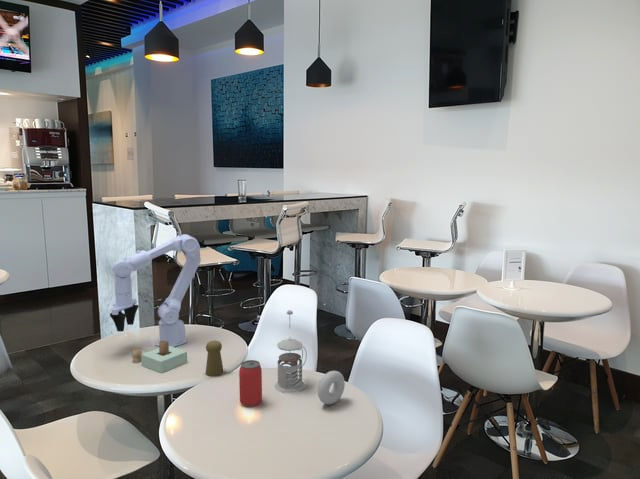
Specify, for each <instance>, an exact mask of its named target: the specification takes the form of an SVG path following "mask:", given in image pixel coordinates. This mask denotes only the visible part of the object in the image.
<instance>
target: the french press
mask: <svg viewBox="0 0 640 479" xmlns="http://www.w3.org/2000/svg"><path fill="white" fill-rule="evenodd" d="M293 314H294V312H293V310H292V309H289V310H287V312H286V315H289V318H288V319H289V320H288V321H289V328H291V315H293ZM276 346H277V348H278V349H279V350H281V351H286V352H284V353H281V354H280V355H279V356H278V360H277V382H276V383H275V384H274V388H275V390H276V391H278V392H281V393H286V394H293V393H298V392H301V391H303V390H304V389H305V388H306V384H305V382H304V381H303V367H304V365H305V364H306V361H307V358H308V356H307V355H308V354H307V349H306V347H305V346H303V343H302V342H301V341H299V340H297V339H295V338H288V339H287V338H285V339H283V340H281V341H279V342H278V343H277V344H276ZM287 351H288V352H287ZM292 351H293V352H292ZM294 351H301V355H302V356H301V355H300V353H296V352H294ZM304 351H305V360H304V362H303V356H304ZM298 362H299V363H298Z"/></svg>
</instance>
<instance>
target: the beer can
mask: <svg viewBox="0 0 640 479" xmlns="http://www.w3.org/2000/svg"><path fill="white" fill-rule="evenodd" d="M239 367H240V368H239V370H238V372H239V375H238V376H239V377H238V378H239V379H238V382H239V403H240V404H241V405H242V406H245V407H248V408H249V407H250V408H252V407H257V406H258V405H260V404H261V403H262V402H263V384H262V383H263V376H262V375H263V374H262V373H263V370H262V367H261V363H260V361H258V360H255V359H254V360H253V359H249V360H248V359H247V360H244V361H243V362H241V363H240V366H239Z"/></svg>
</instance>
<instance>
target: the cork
mask: <svg viewBox="0 0 640 479" xmlns="http://www.w3.org/2000/svg"><path fill="white" fill-rule="evenodd" d="M222 345H223V344H222V342H221V341H219V340H210V341H207V343H206V344H205V350H206V352H207V357H206V365H205V376H207V377H211V378H212V377H215V378H216V377H220V376H222V375H223V374H224V367H223V359H222V353H221V350H222V348H223V346H222Z"/></svg>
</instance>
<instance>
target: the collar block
mask: <svg viewBox="0 0 640 479" xmlns="http://www.w3.org/2000/svg"><path fill="white" fill-rule="evenodd" d="M140 363H141V366H142V367H145V368H147V369H150V370H152V371H155V372H158V373H159V374H163V373H165V372H168V371H170V370H172V369H174V368H177V367H180V366H182V365H184V364H186V363H188V351H186V350H184V349H180V348H178V347H171V346H169V354H167V355H164V356H162V355H159V347H158V348H156V349H153V350H150V351H147V352H144V353H142V354H141V362H140Z"/></svg>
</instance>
